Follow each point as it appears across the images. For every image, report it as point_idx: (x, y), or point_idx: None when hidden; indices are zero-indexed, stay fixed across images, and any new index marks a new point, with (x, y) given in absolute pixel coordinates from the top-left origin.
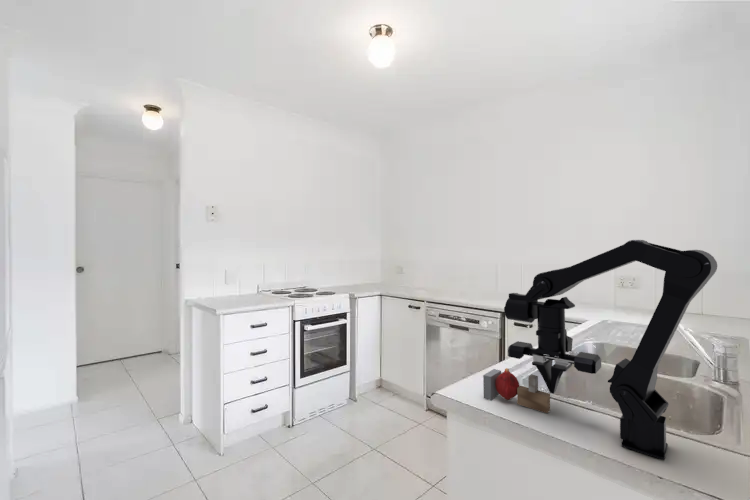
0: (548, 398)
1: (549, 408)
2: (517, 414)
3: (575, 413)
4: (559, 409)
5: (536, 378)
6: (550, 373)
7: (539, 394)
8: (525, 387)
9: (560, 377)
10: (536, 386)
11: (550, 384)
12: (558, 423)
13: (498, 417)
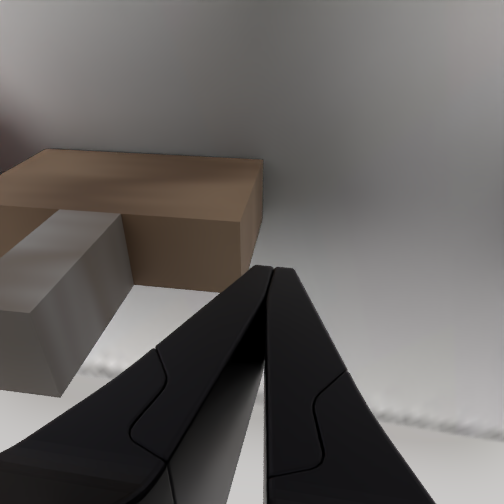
0: (245, 248)
1: (260, 187)
2: (137, 310)
3: (445, 55)
4: (311, 68)
5: (56, 342)
6: (202, 475)
7: (173, 285)
8: (9, 218)
9: (359, 404)
10: (104, 281)
11: (253, 398)
12: (351, 288)
13: (97, 377)
